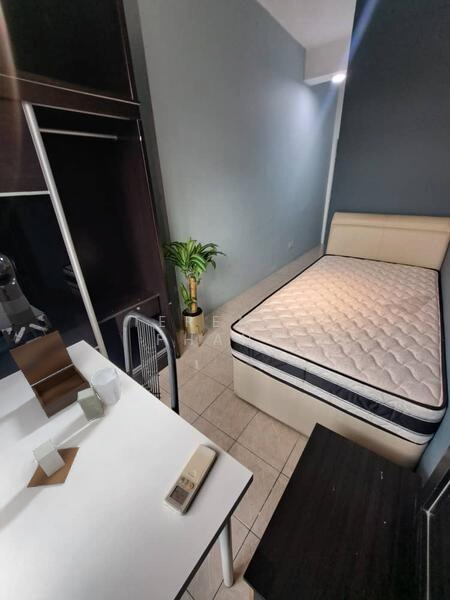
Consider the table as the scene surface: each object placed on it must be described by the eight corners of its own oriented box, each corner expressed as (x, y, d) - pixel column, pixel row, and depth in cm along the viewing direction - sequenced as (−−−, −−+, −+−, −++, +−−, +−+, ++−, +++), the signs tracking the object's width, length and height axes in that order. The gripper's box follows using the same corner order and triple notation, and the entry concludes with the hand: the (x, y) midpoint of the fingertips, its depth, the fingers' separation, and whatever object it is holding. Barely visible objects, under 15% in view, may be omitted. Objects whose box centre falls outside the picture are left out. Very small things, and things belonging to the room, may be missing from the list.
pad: (27, 487, 69) (26, 486, 69) (46, 451, 78) (46, 450, 78) (64, 482, 70) (63, 482, 69) (79, 447, 78) (78, 446, 78)
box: (103, 407, 91) (94, 385, 86) (104, 416, 88) (94, 394, 83) (87, 413, 89) (77, 391, 84) (87, 422, 86) (77, 401, 81)
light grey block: (65, 464, 74) (55, 448, 70) (48, 477, 71) (37, 461, 67) (60, 454, 76) (50, 438, 72) (43, 466, 73) (32, 450, 70)
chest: (93, 392, 98) (88, 381, 95) (49, 419, 88) (42, 408, 85) (78, 374, 107) (73, 364, 105) (36, 396, 97) (30, 386, 95)
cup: (101, 393, 97) (92, 370, 91) (125, 387, 99) (117, 364, 94) (98, 412, 90) (88, 388, 84) (124, 404, 92) (116, 381, 86)
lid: (57, 330, 97) (53, 327, 101) (9, 351, 87) (7, 346, 91) (73, 363, 104) (69, 359, 108) (30, 386, 94) (27, 380, 98)
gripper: (36, 297, 95) (53, 331, 103) (-10, 313, 86) (11, 349, 94) (42, 303, 91) (59, 338, 98) (-7, 320, 82) (16, 357, 89)
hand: (36, 343), depth 96 cm, fingers open, 8 cm apart
